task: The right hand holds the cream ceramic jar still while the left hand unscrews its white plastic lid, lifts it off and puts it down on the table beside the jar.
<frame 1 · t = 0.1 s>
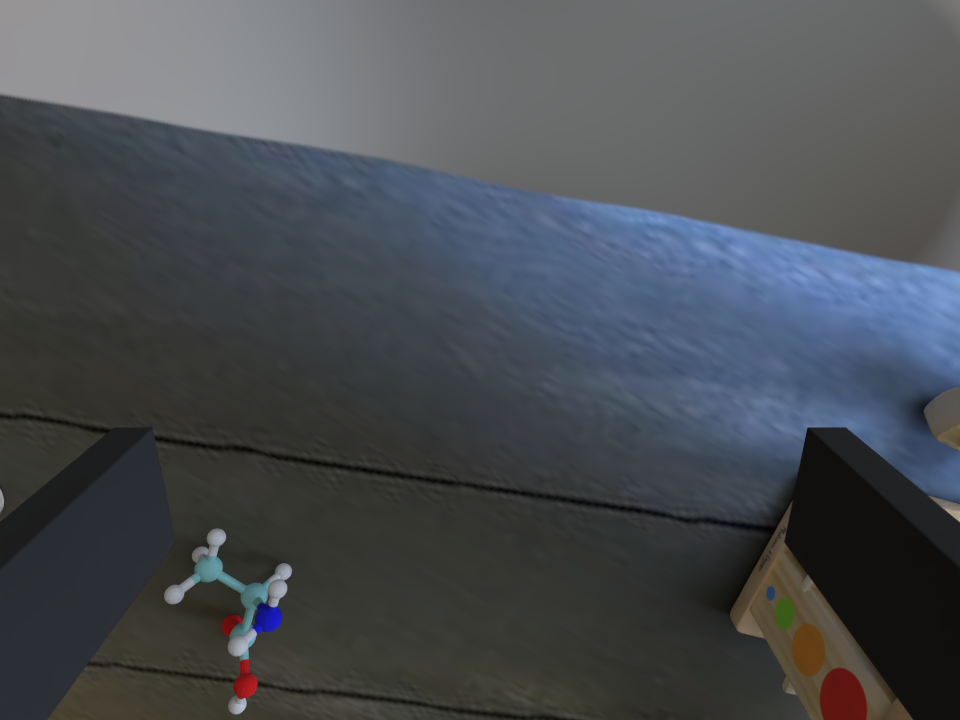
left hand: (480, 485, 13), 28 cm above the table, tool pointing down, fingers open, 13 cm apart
molecular model: (261, 573, 48), on the table
pounding bench toy: (878, 519, 46), on the table
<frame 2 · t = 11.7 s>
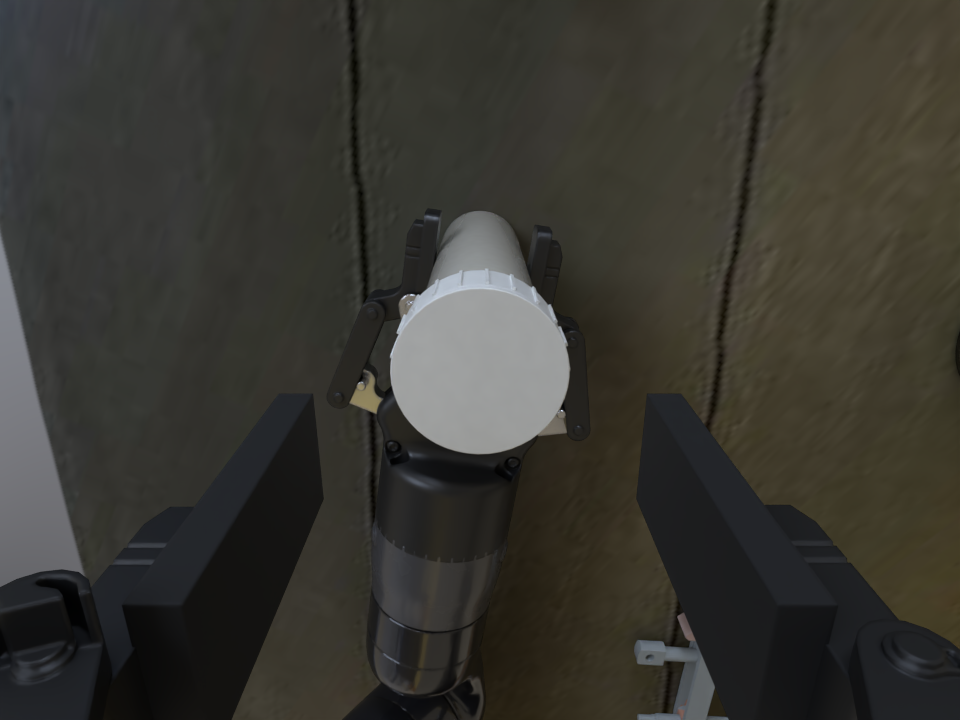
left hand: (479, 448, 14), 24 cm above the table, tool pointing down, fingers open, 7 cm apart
right hand: (489, 221, 30), fingers closed on jar, 4 cm apart
lid: (480, 371, 19), point 19 cm above the table, screwed on, not yet turned
jar: (480, 250, 37), on the table, touching right hand
clamp: (689, 675, 48), on the table
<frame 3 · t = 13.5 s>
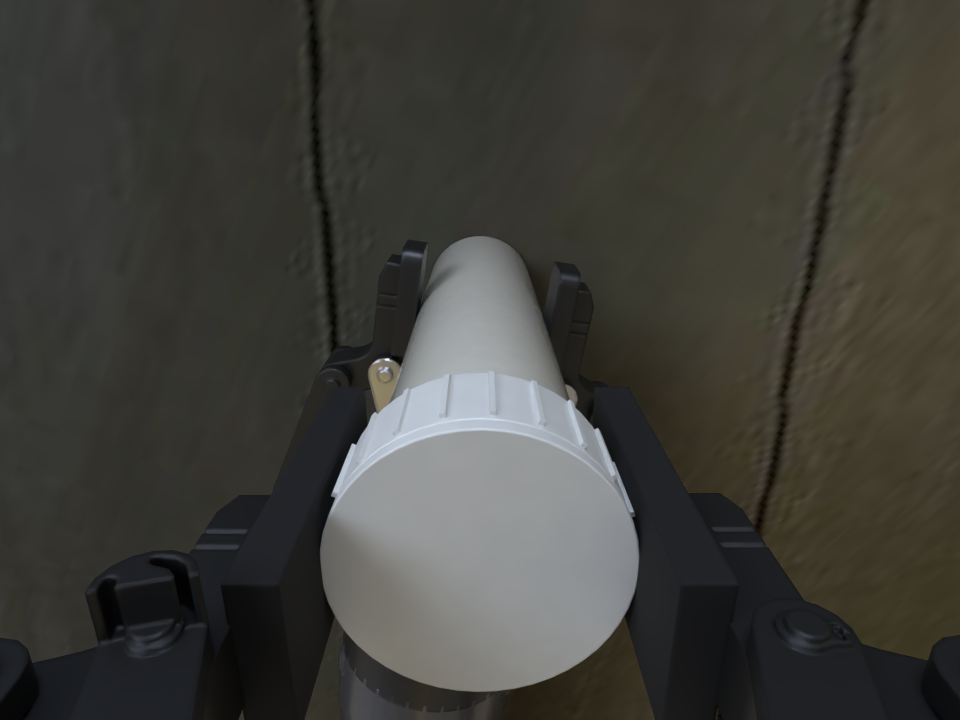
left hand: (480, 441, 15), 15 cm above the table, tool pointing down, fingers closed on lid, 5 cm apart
lid: (479, 558, 11), point 19 cm above the table, screwed on, not yet turned, touching left hand
jar: (480, 285, 29), on the table, touching right hand
when the left hand's fingers open (0 cm above the table, at t = 21.0 s): lid drops 2 cm, point 2 cm above the table.
when the right hand's fingers open (7 cm above the table, at t = 22.1 s): jar stays where it is, on the table.
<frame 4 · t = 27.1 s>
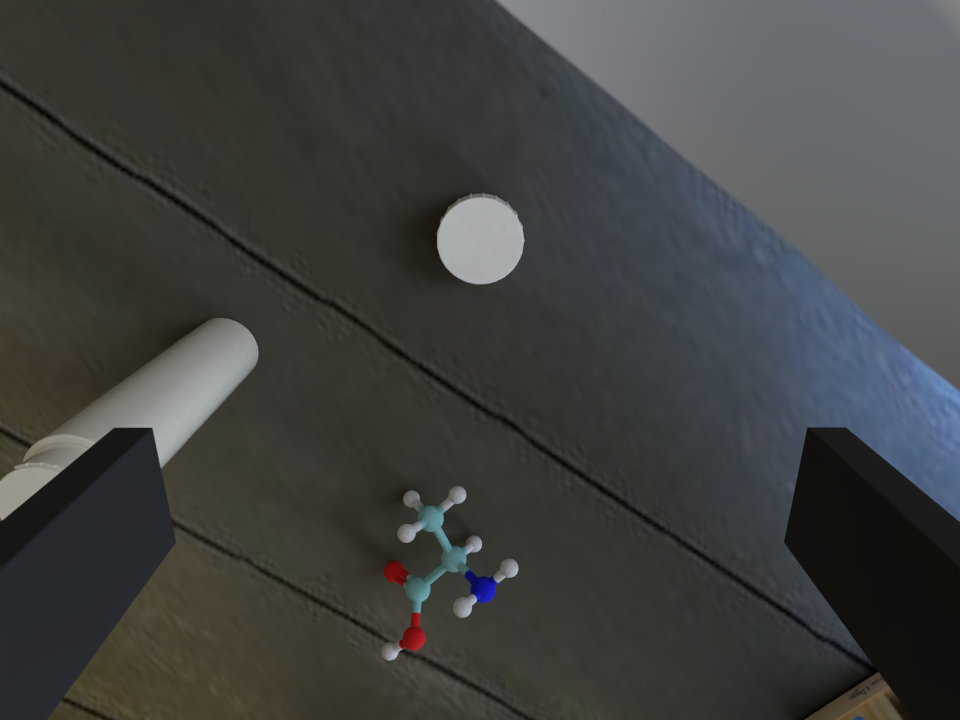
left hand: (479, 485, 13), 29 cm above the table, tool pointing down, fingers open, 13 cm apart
molecular model: (446, 535, 48), on the table
lid: (480, 240, 39), point 2 cm above the table, off its thread
jar: (225, 349, 43), on the table
pounding bench toy: (951, 693, 54), on the table
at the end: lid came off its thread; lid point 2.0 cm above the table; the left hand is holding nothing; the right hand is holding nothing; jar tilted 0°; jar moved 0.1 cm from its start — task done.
